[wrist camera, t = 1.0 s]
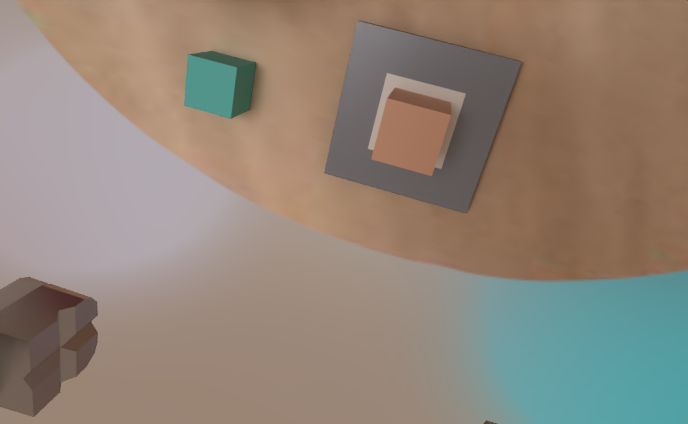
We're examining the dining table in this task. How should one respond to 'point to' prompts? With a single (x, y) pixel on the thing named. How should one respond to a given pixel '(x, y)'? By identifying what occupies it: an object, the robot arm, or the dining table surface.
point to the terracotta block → (412, 131)
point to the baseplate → (427, 79)
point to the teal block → (219, 83)
